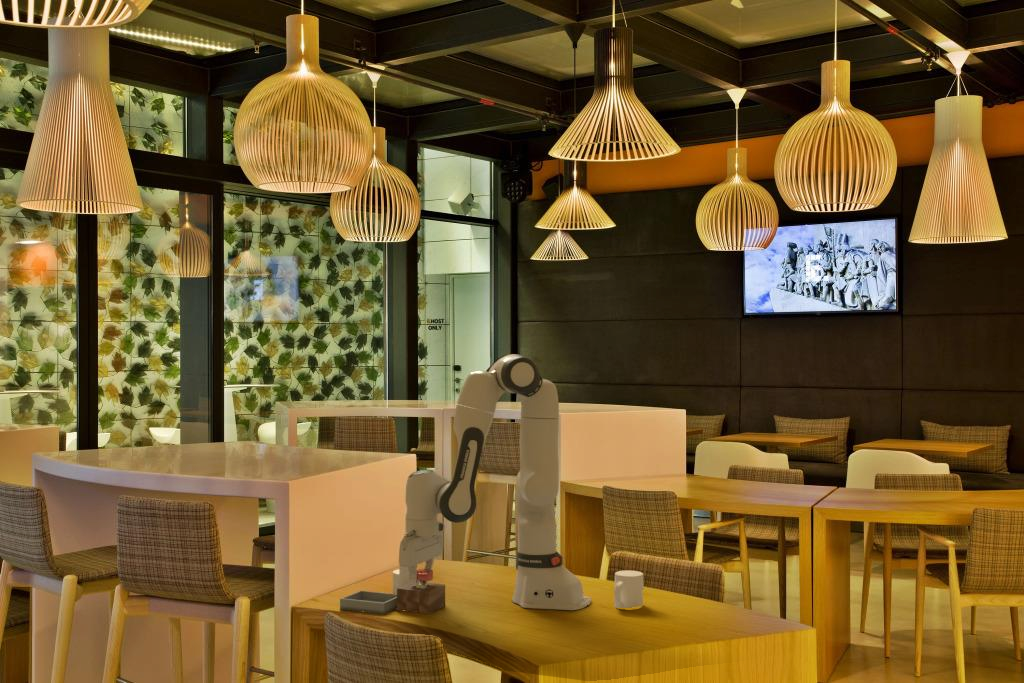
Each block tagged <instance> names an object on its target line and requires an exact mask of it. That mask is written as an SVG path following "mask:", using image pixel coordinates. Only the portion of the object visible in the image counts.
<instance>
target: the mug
mask: <svg viewBox="0 0 1024 683" xmlns="http://www.w3.org/2000/svg"><path fill="white" fill-rule="evenodd" d="M644 584H645V583H644V573H643V572H642V571H638V570H629V569H628V570H627V569H626V570H619V571H616V572H615V573H614V589H613V590H614V592H613V593H614V594H613V603H614V605H613V606H614V608H615V607H617V608H632V607H638V606H641V605H643V606H644V594H643V592H644V589H645V588H644V586H645V585H644Z"/></svg>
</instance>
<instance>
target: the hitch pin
mask: <svg viewBox="0 0 1024 683" xmlns="http://www.w3.org/2000/svg"><path fill="white" fill-rule="evenodd" d="M416 571H417V574H419V576H418V577H419V579H418V580H416V588H427V583H428V582H429V581H432V580H434V578H433V576H434V575H433V574H434V570H433V569H432V570H424V568H416Z"/></svg>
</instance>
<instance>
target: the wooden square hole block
mask: <svg viewBox="0 0 1024 683" xmlns="http://www.w3.org/2000/svg"><path fill="white" fill-rule="evenodd" d="M444 605H445V606H446V584H445V583H435V582H427V588H416V581H413V582H411V583H409V584H406V585H404V586H402V587H399V588H397V609H396V611H400V610H405V611H404V612H409V611H417V612H416V613H418V612H426V613H425V614H427V613H429V614H431V613H433V612H435V611H437V610H439V609H441V608H443V607H445V606H444ZM442 606H443V607H442ZM440 607H441V608H440ZM438 608H439V609H438ZM436 609H437V610H436ZM434 610H435V611H434ZM432 611H433V612H432ZM430 612H431V613H430Z"/></svg>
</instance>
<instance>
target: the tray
mask: <svg viewBox="0 0 1024 683" xmlns="http://www.w3.org/2000/svg"><path fill="white" fill-rule="evenodd" d="M396 608H397V594H394V593H389V592H381V591H373V590H372V591H369V590H358V591H356V592H353V593H350V594H348V595H346V596H343V597H340V598H339V610H342V611H349V610H352V611H351V612H358V611H364V612H363V613H367V612H371V613H370V614H375V613H379V614H378V615H386V614H387V613H390V612H393V611H394V610H397V609H396Z"/></svg>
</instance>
